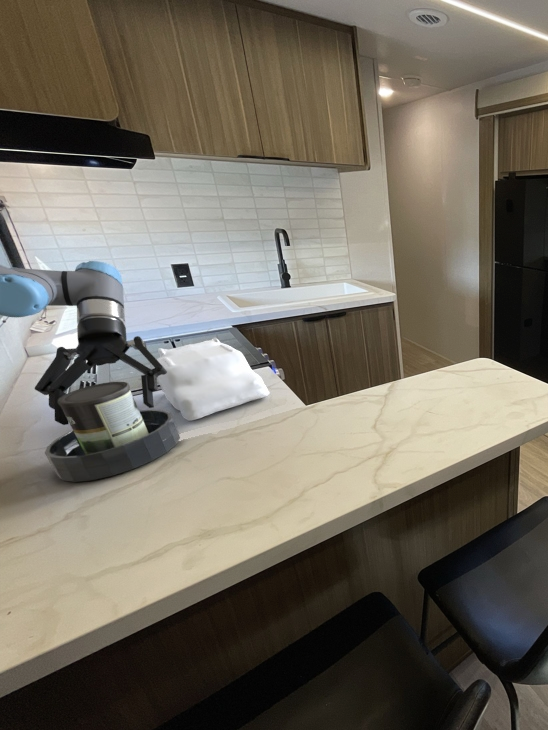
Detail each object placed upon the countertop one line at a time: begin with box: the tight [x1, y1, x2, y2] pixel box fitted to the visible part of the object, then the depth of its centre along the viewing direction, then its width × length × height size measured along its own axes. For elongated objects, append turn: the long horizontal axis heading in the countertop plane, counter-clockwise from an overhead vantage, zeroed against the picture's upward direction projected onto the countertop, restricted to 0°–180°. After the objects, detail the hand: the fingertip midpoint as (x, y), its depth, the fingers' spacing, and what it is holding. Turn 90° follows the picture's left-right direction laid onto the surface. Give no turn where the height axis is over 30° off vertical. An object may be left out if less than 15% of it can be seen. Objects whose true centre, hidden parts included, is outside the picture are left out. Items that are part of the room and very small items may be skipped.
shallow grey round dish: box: [44, 409, 181, 483], centre depth 83 cm, size 19×19×6 cm
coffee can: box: [57, 381, 149, 455], centre depth 81 cm, size 10×10×14 cm
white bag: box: [156, 336, 270, 422], centre depth 107 cm, size 19×30×13 cm, turn 48°
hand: (106, 413), depth 81 cm, fingers open, 13 cm apart
